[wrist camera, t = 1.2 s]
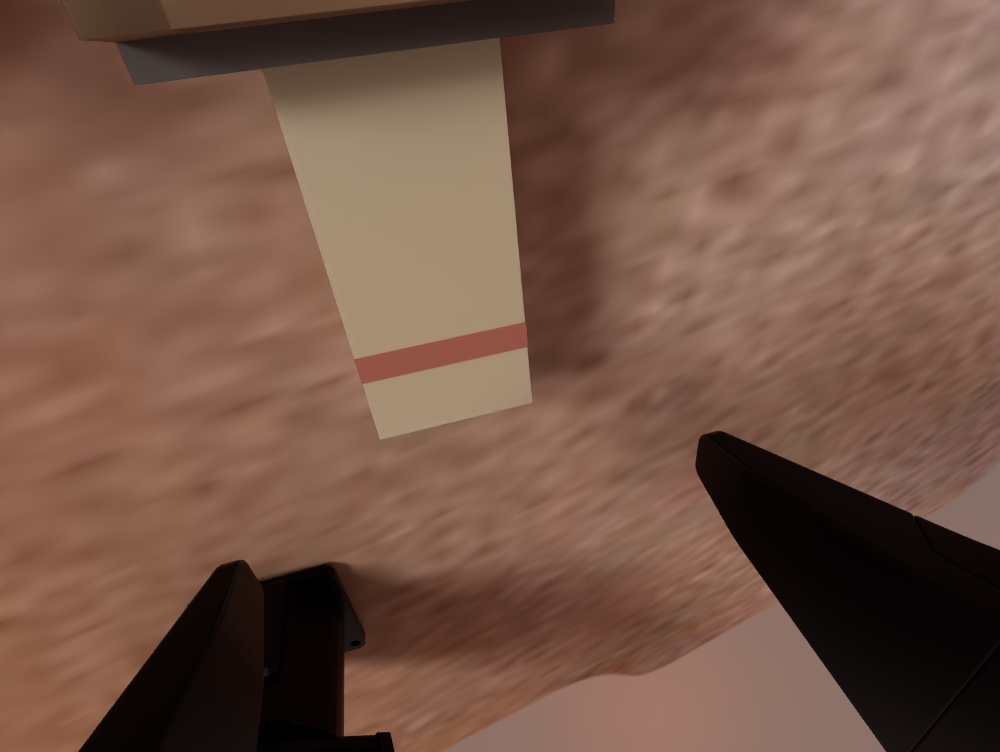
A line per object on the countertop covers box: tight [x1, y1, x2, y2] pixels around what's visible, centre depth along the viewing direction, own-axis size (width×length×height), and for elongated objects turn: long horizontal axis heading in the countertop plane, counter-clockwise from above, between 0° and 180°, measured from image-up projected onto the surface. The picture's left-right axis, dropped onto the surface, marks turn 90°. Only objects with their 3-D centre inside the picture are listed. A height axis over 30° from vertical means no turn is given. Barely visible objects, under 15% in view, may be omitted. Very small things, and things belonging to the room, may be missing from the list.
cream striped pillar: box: [263, 38, 532, 440], centre depth 14 cm, size 14×5×4 cm, turn 6°
